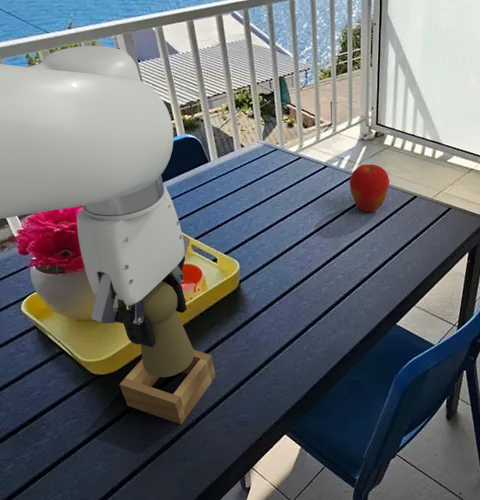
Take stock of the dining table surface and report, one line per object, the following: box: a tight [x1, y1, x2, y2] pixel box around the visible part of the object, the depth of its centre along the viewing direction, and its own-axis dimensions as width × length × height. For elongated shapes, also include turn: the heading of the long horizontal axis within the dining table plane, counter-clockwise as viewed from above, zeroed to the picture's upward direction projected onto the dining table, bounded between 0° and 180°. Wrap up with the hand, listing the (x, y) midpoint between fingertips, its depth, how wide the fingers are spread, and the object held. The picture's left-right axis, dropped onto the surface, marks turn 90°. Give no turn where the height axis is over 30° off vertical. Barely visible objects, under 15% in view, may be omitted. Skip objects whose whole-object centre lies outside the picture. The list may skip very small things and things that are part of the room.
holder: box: [119, 349, 217, 425], centre depth 75 cm, size 9×9×5 cm
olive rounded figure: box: [127, 281, 195, 378], centre depth 58 cm, size 6×6×11 cm
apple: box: [349, 164, 391, 213], centre depth 118 cm, size 9×9×12 cm
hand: (159, 323), depth 58 cm, fingers closed on olive rounded figure, 5 cm apart
